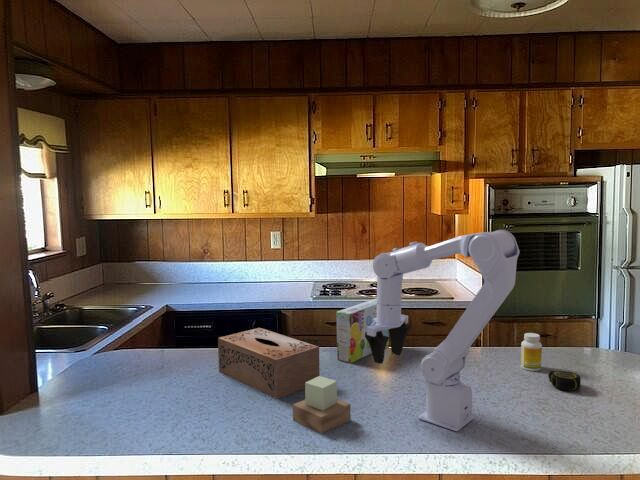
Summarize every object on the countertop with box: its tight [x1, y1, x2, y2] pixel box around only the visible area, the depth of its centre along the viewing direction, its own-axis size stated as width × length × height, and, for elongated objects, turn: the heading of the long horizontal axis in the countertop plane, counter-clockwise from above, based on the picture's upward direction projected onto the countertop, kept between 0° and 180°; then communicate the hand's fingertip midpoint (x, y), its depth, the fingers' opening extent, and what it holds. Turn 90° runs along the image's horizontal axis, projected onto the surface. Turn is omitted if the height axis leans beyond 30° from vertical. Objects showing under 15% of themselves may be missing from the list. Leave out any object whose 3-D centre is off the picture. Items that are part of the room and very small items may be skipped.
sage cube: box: [304, 375, 338, 411], centre depth 112 cm, size 5×5×5 cm
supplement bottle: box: [519, 332, 543, 372], centre depth 143 cm, size 5×5×10 cm
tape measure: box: [547, 370, 582, 392], centre depth 129 cm, size 7×7×4 cm
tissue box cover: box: [217, 327, 320, 399], centre depth 138 cm, size 26×14×10 cm, turn 44°
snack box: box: [335, 298, 390, 364], centre depth 157 cm, size 21×6×15 cm, turn 141°
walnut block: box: [292, 398, 352, 435], centre depth 113 cm, size 9×9×4 cm
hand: (387, 358), depth 121 cm, fingers open, 7 cm apart
